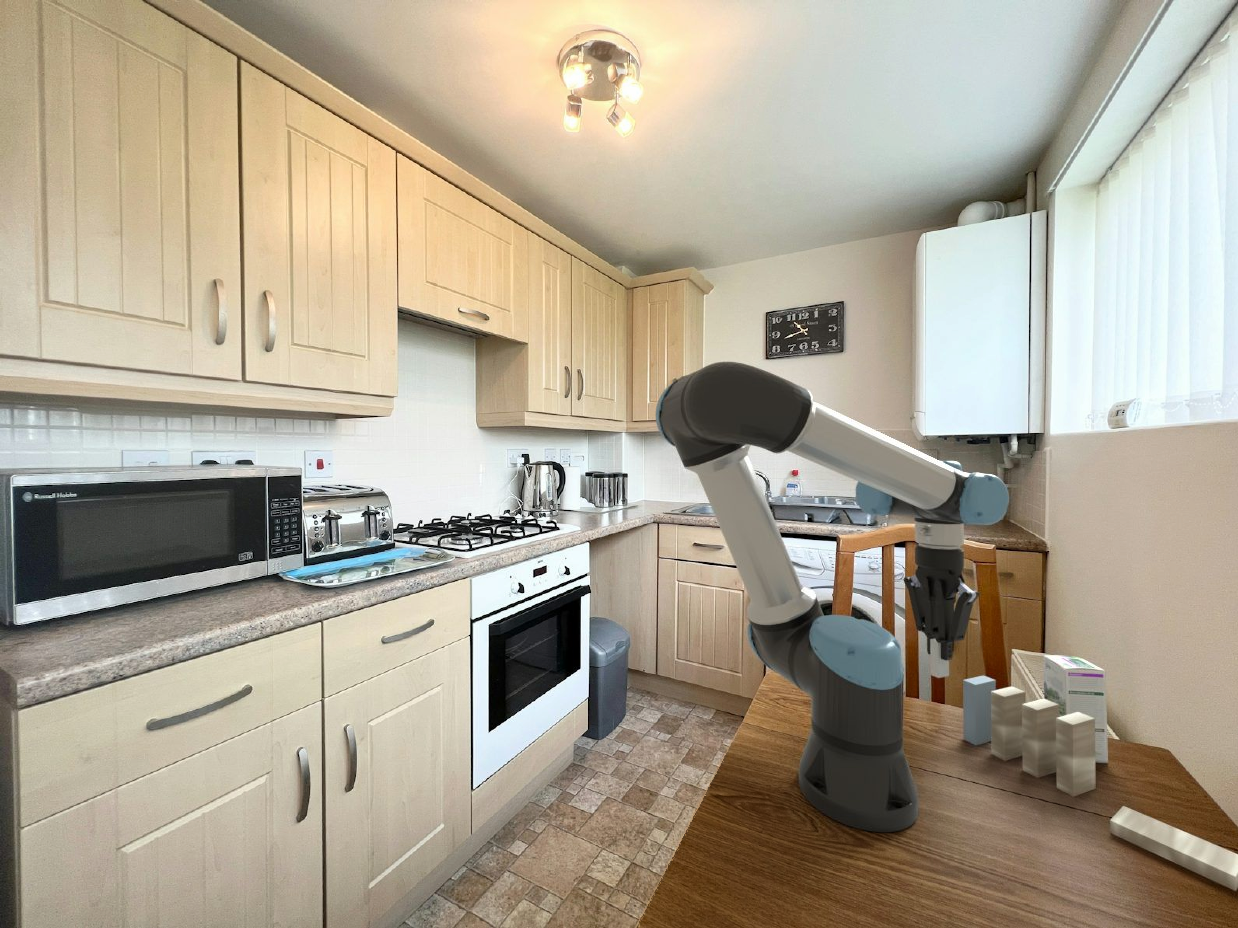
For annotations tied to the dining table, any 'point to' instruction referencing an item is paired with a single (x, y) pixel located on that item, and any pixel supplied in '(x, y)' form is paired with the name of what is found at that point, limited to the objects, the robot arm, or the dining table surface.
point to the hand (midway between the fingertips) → (939, 675)
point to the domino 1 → (977, 709)
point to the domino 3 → (1039, 737)
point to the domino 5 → (1177, 846)
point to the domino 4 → (1075, 753)
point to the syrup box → (1079, 693)
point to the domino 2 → (1007, 722)
